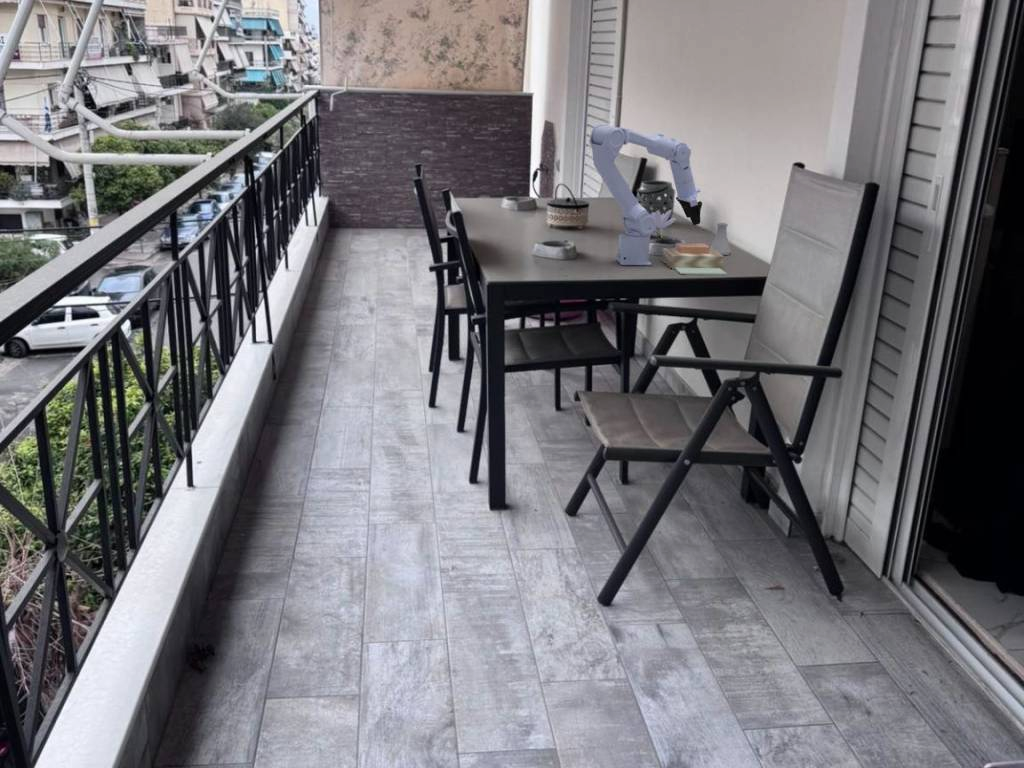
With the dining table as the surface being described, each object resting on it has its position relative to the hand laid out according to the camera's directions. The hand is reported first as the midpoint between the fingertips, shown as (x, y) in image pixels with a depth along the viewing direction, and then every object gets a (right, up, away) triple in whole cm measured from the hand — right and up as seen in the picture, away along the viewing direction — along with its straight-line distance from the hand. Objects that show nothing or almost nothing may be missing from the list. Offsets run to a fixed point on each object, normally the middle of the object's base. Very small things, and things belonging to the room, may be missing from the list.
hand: (693, 220), depth 288 cm
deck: (-2, -15, -5) cm, 15 cm away
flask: (+11, -9, +13) cm, 20 cm away
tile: (-1, -11, -5) cm, 12 cm away
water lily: (-6, 0, +37) cm, 38 cm away
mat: (-1, -18, -14) cm, 23 cm away
